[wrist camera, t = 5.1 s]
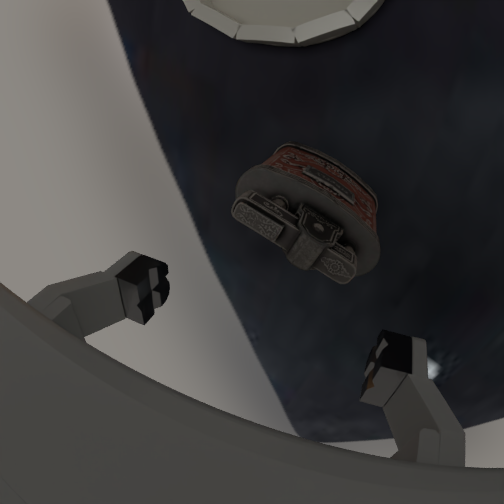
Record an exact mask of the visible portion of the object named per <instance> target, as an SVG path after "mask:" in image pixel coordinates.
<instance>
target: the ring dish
mask: <svg viewBox="0 0 504 504" xmlns="http://www.w3.org/2000/svg"><path fill="white" fill-rule="evenodd" d="M384 1H385V0H183V2H184V4H185V6H186V8H187V10H188V12H190V13H191V15H193V16H195V17H197V18H199V19H200V20H202V21H204V22H206V23H208V24H209V25H211V26H213V27H215V28H216V29H218V30H220V31H221V32H223V33H225V34H226V35H228V36H230V37H231V38H234V39H237V40H240V41H244V42H247V43H261V44H266V45H273V46H287V47H301V46H304V47H306V46H308V45H314V44H319V43H323V42H327V41H330V40H333V39H336V38H338V37H341V36H344V35H346V34H348V33H349V32H351V31H354V30H356V29H357V28H358V27H359V28H360V27H361V25H362V24H364V23H365V22H367V21H368V20H369V19H370V18H371V17H372V16H373V15H374V14H375V13H376V12H377V10H378V9H379V8H380V7H381V5H382V4H383V2H384Z"/></svg>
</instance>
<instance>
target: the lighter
mask: <svg viewBox="0 0 504 504" xmlns="http://www.w3.org/2000/svg"><path fill="white" fill-rule="evenodd" d="M235 194H236V201H235V202H234V204H233V206H232V209H231V213H232V215H233V217H234V218H235V219H236V220H238V221H239V222H241V223H242V224H244V225H246V226H247V227H249V228H251V229H252V230H254V231H255V232H257V233H259V234H260V235H262V236H264V237H265V238H267V239H268V240H270V241H272V242H273V243H275V244H277V245H278V246H280V247H281V248H282V250H283V252H284V253H285V255H286V258H287V260H288V261H289V262H290V263H291V264H293V265H294V266H296V267H297V268H299V269H301V270H305V271H307V270H315V269H317V270H318V271H320V272H321V273H323V274H325V275H326V276H328V277H329V278H331V279H332V280H334V281H336V282H338V283H340V284H346V283H348V282H349V281H351V280H352V278H353V277H354V276H361V275H364V274H366V273H368V272H369V271H371V270H372V269H373V268H374V267H375V266H376V264H377V262H378V261H379V257H380V241H379V237H378V236H377V234H376V212H377V208H378V201H377V196H376V194H375V192H374V191H373V190H372V189H371V188H370V187H369V186H368V185H367V184H366V183H365V182H364V181H363V180H362V179H361V178H360V177H359V176H358V175H357V174H355V173H354V172H353V171H351V170H350V169H349V168H347V167H346V166H345V165H343V164H342V163H341V162H339V161H338V160H336V159H334V158H332V157H330V156H328V155H326V154H324V153H323V152H321V151H319V150H316V149H314V148H311V147H308V146H306V145H303V144H300V143H297V142H287V143H285V144H283V145H282V146H280V147H279V148H278V149H277V150H276V151H275V152H274V154H273V156H271V157H270V158H269V159H267V160H266V161H265V162H264V163H262V164H261V165H256V166H254V167H252V168H251V169H249V170H248V171H246V172H245V173H244V174H243V175H242V176H241V177H240V179H239V180H238V182H237V185H236V189H235Z"/></svg>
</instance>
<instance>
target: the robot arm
mask: <svg viewBox="0 0 504 504" xmlns="http://www.w3.org/2000/svg"><path fill="white" fill-rule="evenodd" d="M167 274H168V265H167V264H166V263H164V262H162V261H159V260H156V259H153V258H151V257H148V256H145V255H142V254H139V253H137V252H134V251H131V252H128V253H127V254H126V255H125V256H123V257H122V258H121V259H120V260H118V261H117V262H116V263H115V264H113V265H112V266H111V267H110V268H108V269H107V270H106V271H105V272H101V271H100V272H96V273H93V274H88V275H85V276H81V277H77V278H74V279H70V280H66V281H63V282H59V283H55V284H51V285H48V286H46V287H45V288H44V289H43V290H42V291H40V292H39V293H38V294H37V295H35V296H34V297H33V298H32V299H30V300H29V301H28V302H27V303H26V302H25V301H23V300H22V299H21V298H20V297H18V296H17V295H16V294H14V293H13V292H12V291H10V290H9V289H8V288H7V287H5V286H4V285H3V284H2V283H0V504H504V468H474V467H465V432H464V430H463V429H462V427H461V425H460V424H459V422H458V420H457V419H456V417H455V415H454V414H453V412H452V411H451V409H450V407H449V406H448V404H447V403H446V401H445V399H444V398H443V396H442V395H441V393H440V392H439V390H438V388H437V387H436V385H435V384H434V382H433V381H432V379H428V368H427V347H426V341H425V339H420V338H416V337H412V336H411V337H410V336H407V335H403V334H399V333H395V332H391V331H387V330H384V329H382V331H381V332H380V334H379V336H378V338H377V345H376V346H374V347H373V348H372V350H371V352H370V354H369V357H368V359H367V362H366V366H365V371H364V375H365V377H366V379H365V381H364V383H363V384H362V389H361V395H360V401H361V402H365V403H369V404H372V405H376V406H380V407H383V410H384V413H385V415H386V418H387V421H388V423H389V426H390V429H391V431H392V434H393V437H394V439H395V442H396V445H397V447H398V450H399V451H398V452H396V453H395V454H394V455H393V456H392V457H390V458H386V457H380V456H375V455H370V454H365V453H360V452H355V451H351V450H346V449H342V448H338V447H334V446H330V445H326V444H322V443H319V442H315V441H311V440H308V439H304V438H301V437H297V436H294V435H291V434H287V433H284V432H281V431H278V430H275V429H272V428H269V427H266V426H263V425H260V424H257V423H254V422H252V421H249V420H246V419H243V418H241V417H238V416H235V415H232V414H230V413H227V412H225V411H222V410H220V409H217V408H215V407H212V406H210V405H208V404H205V403H203V402H200V401H198V400H196V399H193V398H191V397H189V396H187V395H185V394H182V393H180V392H178V391H176V390H174V389H171V388H169V387H167V386H165V385H163V384H161V383H159V382H157V381H155V380H153V379H151V378H149V377H147V376H145V375H143V374H141V373H139V372H137V371H135V370H133V369H131V368H130V367H128V366H126V365H124V364H122V363H120V362H118V361H117V360H115V359H113V358H111V357H110V356H108V355H106V354H104V353H103V352H101V351H99V350H97V349H96V348H94V347H92V346H91V345H89V344H87V343H86V341H85V338H84V337H85V336H88V335H90V334H92V333H94V332H97V331H99V330H101V329H103V328H105V327H108V326H110V325H112V324H114V323H116V322H119V321H121V320H123V319H125V317H126V318H129V319H131V320H133V321H135V322H138V323H140V324H143V325H145V324H146V323H147V322H148V321H149V319H150V318H151V317H152V316H153V315H154V309H155V308H158V307H161V306H162V305H163V304H164V303H165V301H166V300H167V297H168V295H169V290H170V284H169V281H168V280H167V278H166V277H165V276H166V275H167Z"/></svg>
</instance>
